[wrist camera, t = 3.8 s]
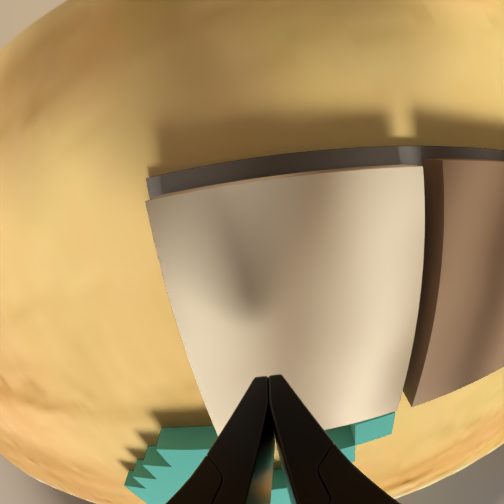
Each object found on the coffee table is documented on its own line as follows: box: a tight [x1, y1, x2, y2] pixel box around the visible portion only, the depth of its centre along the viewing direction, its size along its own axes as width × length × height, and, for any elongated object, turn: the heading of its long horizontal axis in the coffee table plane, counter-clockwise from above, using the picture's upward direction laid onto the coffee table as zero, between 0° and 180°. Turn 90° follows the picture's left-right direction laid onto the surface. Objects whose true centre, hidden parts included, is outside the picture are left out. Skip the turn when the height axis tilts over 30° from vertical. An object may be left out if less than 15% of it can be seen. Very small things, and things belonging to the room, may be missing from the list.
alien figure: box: [124, 411, 395, 504], centre depth 17 cm, size 20×2×20 cm
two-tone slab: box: [146, 146, 504, 407], centre depth 11 cm, size 20×12×2 cm, turn 98°
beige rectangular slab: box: [145, 164, 425, 436], centre depth 11 cm, size 9×12×2 cm
